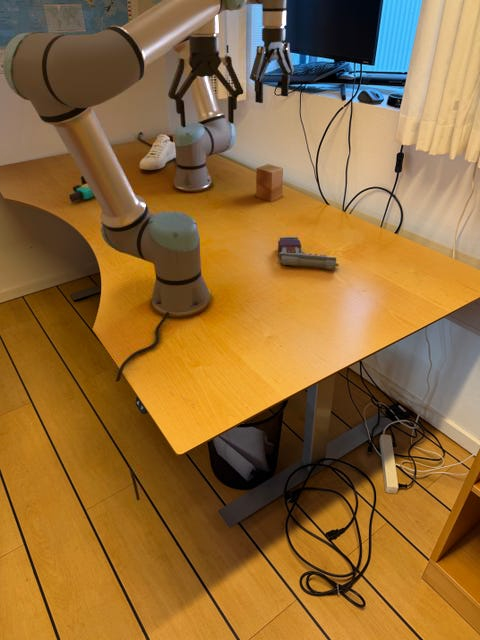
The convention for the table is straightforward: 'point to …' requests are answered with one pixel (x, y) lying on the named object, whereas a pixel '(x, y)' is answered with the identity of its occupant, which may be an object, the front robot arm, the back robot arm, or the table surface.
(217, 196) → the table surface
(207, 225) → the table surface
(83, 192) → the toy gun
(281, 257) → the toy gun
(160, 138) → the sneaker
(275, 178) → the block
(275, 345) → the table surface
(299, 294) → the table surface
